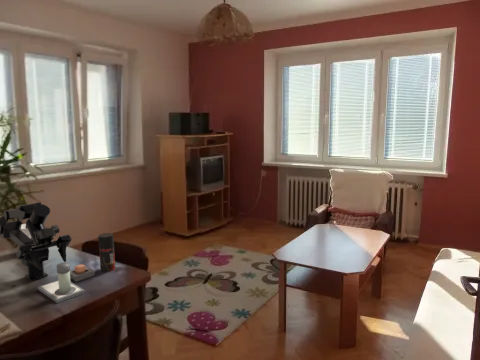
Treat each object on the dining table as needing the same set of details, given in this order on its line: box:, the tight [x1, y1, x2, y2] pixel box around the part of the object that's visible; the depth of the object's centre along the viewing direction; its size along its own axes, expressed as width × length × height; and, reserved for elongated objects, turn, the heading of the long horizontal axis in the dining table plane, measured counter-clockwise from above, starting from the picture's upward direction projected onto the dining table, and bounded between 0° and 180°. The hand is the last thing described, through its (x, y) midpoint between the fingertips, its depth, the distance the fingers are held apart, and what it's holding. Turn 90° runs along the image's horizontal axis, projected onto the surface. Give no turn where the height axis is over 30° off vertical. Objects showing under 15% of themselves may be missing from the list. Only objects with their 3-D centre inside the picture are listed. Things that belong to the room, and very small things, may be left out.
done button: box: [74, 264, 86, 275], centre depth 153 cm, size 4×4×2 cm
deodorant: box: [97, 232, 116, 273], centre depth 159 cm, size 6×6×15 cm
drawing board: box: [37, 279, 86, 304], centre depth 139 cm, size 16×10×1 cm, turn 50°
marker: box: [56, 261, 72, 293], centre depth 136 cm, size 4×4×10 cm
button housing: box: [70, 265, 96, 282], centre depth 153 cm, size 8×8×2 cm
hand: (53, 265), depth 141 cm, fingers open, 9 cm apart
